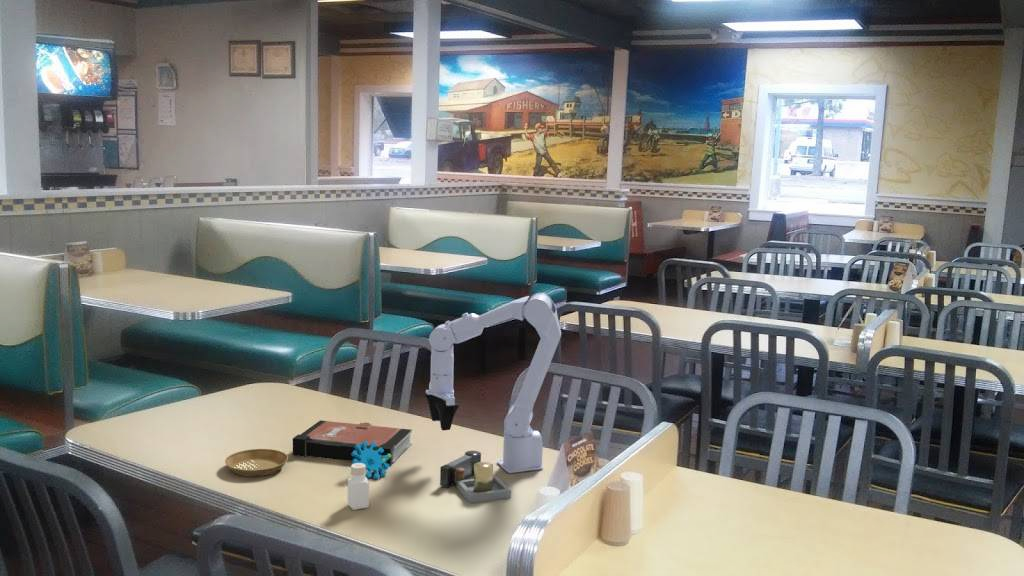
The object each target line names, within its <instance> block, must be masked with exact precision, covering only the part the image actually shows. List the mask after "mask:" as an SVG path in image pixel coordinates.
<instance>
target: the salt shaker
mask: <svg viewBox="0 0 1024 576" xmlns="http://www.w3.org/2000/svg"><path fill="white" fill-rule="evenodd" d="M366 471H367V470H366V465H365V464H363V463H355V464H353V463H352V464H351V465H350V475H351V477H349V478H348V479H347V505H348V507H350V508H351V510H353V511H356V510H361V509H368V508H369V506H370V480H369V479H368V478H366V477H365V474H366V473H367V472H366Z"/></svg>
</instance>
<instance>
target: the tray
mask: <svg viewBox="0 0 1024 576" xmlns="http://www.w3.org/2000/svg"><path fill="white" fill-rule="evenodd" d="M456 489H457V491H459V493H460V494H462V496H463V497H464V498H465V499H466V501H467V502H468V503H469V502H470V503H469V504H472V503H473V504H474V503H481V502H488V501H496V500H503V499H509V498H512V489H511V488H509V486H507V484H506V483H504V481H502V480H501V479H500V477H498V476H497V475H493V491H486V492H479V493H477V492H475V491H474V478H470V479H469V478H468V479H464V480H461V481H457V487H456Z"/></svg>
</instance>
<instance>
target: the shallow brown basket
mask: <svg viewBox="0 0 1024 576" xmlns="http://www.w3.org/2000/svg"><path fill="white" fill-rule="evenodd" d="M288 459H289V456H288V454H286V453H285V452H283V451H280V450H278V449H271V448H254V449H253V448H252V449H246V450H241V451H237V452H235V453H232V454H229V456H227V457H226V458H225V460H224V463H225V465H226V466H227V468H229V469H230V470H231V471H232V472H233V473H234V474H236V475H238V474H239V476H243V477H249V476H251V478H252V477H254V478H256V477H263V476H268V475H272V474H274V473H276V472H278V471H279V470H280V469H281V468H283V466H284V465H285V464H286V463H287V461H288ZM251 460H253V461H254V462H255V463H254V462H252V461H251ZM243 462H244V463H246V464H247V465H250V464H249V463H251V464H254V465H255V466H256V467H257V468H256V467H255V468H254V466H252V465H250V466H251V467H252V468H253V470H252V468H251V469H250V467H248V466H246V467H247V470H246V468H245V469H244V467H242V466H241V465H240V467H242V469H240V468H237V466H236V465H238V466H239V463H240V464H243ZM247 462H249V463H247ZM256 464H257V465H256ZM244 465H245V464H244ZM258 465H259V466H258ZM234 467H236V468H234Z"/></svg>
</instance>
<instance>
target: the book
mask: <svg viewBox="0 0 1024 576" xmlns="http://www.w3.org/2000/svg"><path fill="white" fill-rule="evenodd" d="M412 433H413V429H409V428H398V427H388V426H379V425H372V423H369V422H360V423H359V424H358V423H350V422H342V421H341V422H339V421H332V420H331V421H330V420H323V419H322V420H318V421H317V422H315V423H314V424H313V425H312V426H310V427H309V428H307V429H306V430H304V432H302V433H300V434H296V435H295V436H294V437H292V456H293V455H295V457H302V456H304V457H303V458H305V457H309V456H311V457H313V458H318V457H321V458H320V459H327V458H329V459H330V460H338V461H347V462H352V461H353V459H355V458H356V459H357V460H358V461H360V460H359V459H358V458H357V457H354V456H352V455H351V454H352V452H353V451H354V450H356V449H355V446H356V445H357V444H360V445H361V450H363V446H362V442H363V441H366V442H368V445H367V446H366V448H367V449H369V448H370V444H371V443H372V442H374V443H375V444H376V447H375V448H372V449H373V450H378V449H379V448H380V447H382V448H383V450H384V452H383V453H381V454H380V453H378V454H379V455H382V456H385V455H387V454H391V457H390V458H389V459H388V460H387V462H386V463H387V464H389V465H390V466H389V467H392V466H393V464H395V463H396V461H397V460H399V458H400V457H402V455H403V454H404V453H406V451H407V450H408V449H409V448H410V447H411V446H412V445H413V443H411V434H412ZM356 451H357V450H356ZM357 453H358V454H359V452H358V451H357ZM359 455H360V454H359Z"/></svg>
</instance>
